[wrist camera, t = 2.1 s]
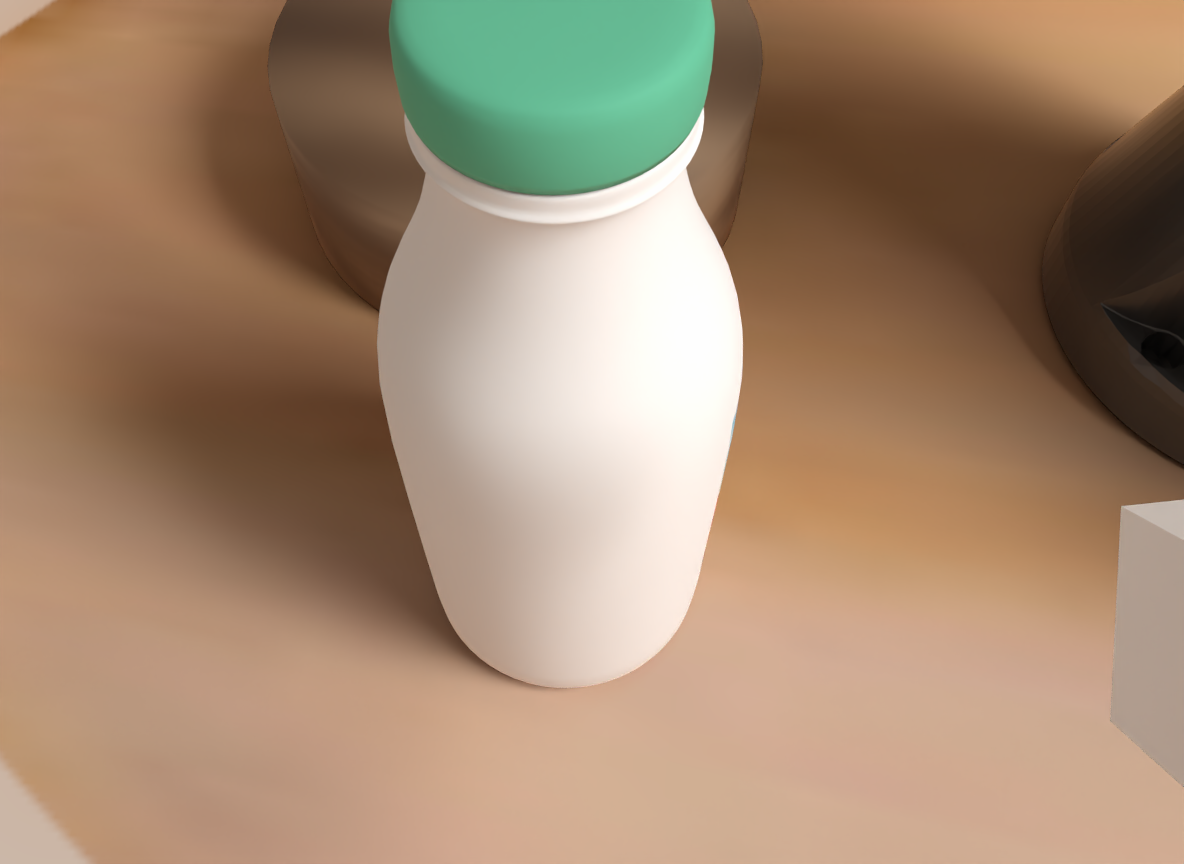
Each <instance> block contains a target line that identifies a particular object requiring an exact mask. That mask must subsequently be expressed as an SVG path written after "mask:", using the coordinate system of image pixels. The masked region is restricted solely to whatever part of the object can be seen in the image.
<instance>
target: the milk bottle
mask: <svg viewBox="0 0 1184 864" xmlns="http://www.w3.org/2000/svg"><path fill="white" fill-rule="evenodd" d="M714 35H715V20H714V14H713V9H712V3H711V0H392V4H391V11H390V18H389V39H390V47H391V55H392V63H393V70H394V74H395V78H396V82H397V87H398V91H399V95H400V99H401V103H402V107H403V109H404V112H405V115H404V122H405V131H406V135H407V139H408V142H409V145H410V148H411V150H412V152H413V154H414V156H415V158H416V160H417V161H418V163H419V164H420V166H421V167H422V169H423V170H424V171H425V173H426V174H425V179H424V184H423V189H422V193H421V197H420V200H419V203H418V205H417V208H416V210H415V213H414V215H413V217H412V219H411V221H410V223H409V225H408V227H407V229H406V231H405V233H404V235H403V237H402V239H401V242H400V244H399V246H398V249H397V251H396V253H395V256H394V258H393V261H392V263H391V265H390V269H389V272H388V275H387V279H386V283H385V287H384V291H383V295H382V300H381V306H380V312H379V323H378V336H377V350H378V366H379V380H380V387H381V393H382V398H383V402H384V407H385V411H386V416H387V420H388V425H389V429H390V434H391V438H392V443H393V446H394V450H395V453H396V457H397V460H398V464H399V467H400V471H401V474H402V478H403V481H404V485H405V488H406V492H407V495H408V498H409V502H410V505H411V509H412V512H413V515H414V518H415V522H416V525H417V528H418V532H419V535H420V538H421V541H422V545H423V548H424V551H425V554H426V558H427V561H428V564H429V567H430V570H431V573H432V577H433V580H434V583H435V586H436V589H437V592H438V596H439V598H440V601H441V603H442V605H443V608H444V610H445V613H446V615H447V617H448V619H449V621H450V623H451V625H452V626H453V628H454V630H455V631H456V633H457V634H458V635H459V637H460V638H461V640H462V641H463V642H464V643H465V644H466V645H467V646H468V648H469V649H470V650H471V651H472V652H473V653H475V654H476V655H477V656H478V657H479V658H480V659H481V660H483V661H484V662H486V663H487V664H488V665H490V666H491V667H493V668H495V669H496V670H498V671H500V672H501V673H503V674H506V675H508V676H510V677H512V678H514V679H517V680H520V681H523V682H526V683H530V684H534V685H538V686H544V687H552V688H579V687H586V686H593V685H597V684H601V683H605V682H608V681H611V680H614V679H616V678H619V677H621V676H623V675H625V674H628V673H630V672H632V671H633V670H635V669H637V668H638V667H640V666H642V665H643V664H644V663H646V662H647V661H648V660H650V659H651V658H652V657H654V656H655V655H656V654H657V653H658V652H659V651H660V650H661V649H662V648H663V647H664V646H665V645H666V644H667V643H668V641H669V640H670V639H671V638H672V636H673V635H674V634H675V632H676V631H677V629H678V628H679V626H680V624H681V623H682V621H683V619H684V617H685V615H686V613H687V610H688V608H689V606H690V603H691V600H692V597H693V594H694V591H695V588H696V584H697V581H698V577H699V573H700V569H701V565H702V562H703V558H704V554H705V550H706V546H707V542H708V537H709V533H710V529H711V525H712V521H713V517H714V513H715V509H716V505H717V501H718V496H719V492H720V488H721V483H722V479H723V474H724V470H725V466H726V461H727V457H728V453H729V448H730V444H731V439H732V434H733V429H734V424H735V418H736V412H737V406H738V400H739V394H740V387H741V381H742V368H743V335H742V323H741V317H740V310H739V304H738V297H737V293H736V290H735V286H734V283H733V279H732V276H731V273H730V269H729V266H728V263H727V261H726V259H725V256H724V254H723V251H722V249H721V247H720V245H719V243H718V241H717V239H716V237H715V235H714V233H713V231H712V229H711V228H710V226H709V224H708V222H707V220H706V219H705V217H704V215H703V213H702V211H701V209H700V207H699V206H698V204H697V201H696V199H695V197H694V194H693V191H692V188H691V185H690V182H689V178H688V174H687V170H686V167H687V165H688V164H689V163H690V161H691V159H692V157H693V156H694V154H695V152H696V150H697V147H698V145H699V143H700V140H701V136H702V132H703V125H704V104H705V100H706V96H707V91H708V86H709V80H710V75H711V70H712V61H713V49H714Z"/></svg>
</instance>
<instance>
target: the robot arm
mask: <svg viewBox="0 0 1184 864" xmlns="http://www.w3.org/2000/svg"><path fill="white" fill-rule="evenodd" d="M1042 281H1043V291H1044V297H1045V302H1046V307H1047V311H1048V314H1049V317H1050V321H1051V323H1052V326H1053V329H1054V331H1055V334H1056V336H1057V338H1058V340H1059V342H1060V344H1061V346H1062V348H1063V350H1064V352H1065V353H1066V355H1067V357H1068V359H1069V360H1070V362H1071V364H1072V365H1073V367H1074V368H1075V369H1076V371H1077V372H1078V374H1079V375H1080V377H1081V378H1082V379H1083V381H1084V382H1085V383H1086V384H1087V386H1088V387H1089V388H1090V389H1091V391H1092V392H1093V393H1094V394H1095V395H1096V396H1097V397H1098V398H1099V400H1100V401H1101V402H1102V403H1103V404H1104V405H1105V406H1106V407H1107V408H1108V409H1109V410H1110V411H1111V412H1112V413H1113V414H1114V415H1115V416H1117V417H1118V418H1119V419H1120V420H1121V421H1122V422H1123V423H1124V424H1125V425H1127V426H1128V427H1129V428H1130V429H1132V430H1133V431H1134V432H1135V433H1137V434H1138V435H1139V436H1140V437H1142V438H1143V439H1144V440H1146V441H1147V442H1149V443H1150V444H1151V445H1153V446H1154V447H1156V448H1157V449H1159V450H1160V451H1162V452H1163V453H1165V454H1167V455H1168V456H1170V457H1171V458H1173V459H1175V460H1176V461H1178V462H1180V463H1182V464H1184V86H1182V87H1181V88H1180V89H1179V90H1178V91H1176V92H1175V93H1174V94H1173V95H1171V96H1170V97H1169V98H1168V99H1166V100H1165V101H1164V102H1163V103H1162V104H1160V105H1159V106H1158V107H1157V108H1155V109H1154V110H1153V111H1152V112H1151V113H1149V114H1148V115H1147V116H1146V117H1145V118H1143V119H1142V120H1141V121H1140V122H1139V123H1137V124H1136V125H1135V126H1134V127H1133V128H1132V129H1130V130H1129V131H1128V132H1127V133H1126V134H1124V135H1123V136H1121V137H1120V138H1119V139H1117V140H1116V141H1115V142H1114V143H1112V144H1111V145H1110V146H1109V147H1107V148H1106V149H1105V150H1104V151H1103V152H1102V153H1101V154H1100V155H1099V156H1098V157H1097V158H1096V159H1095V160H1094V162H1093V163H1092V164H1091V165H1090V166H1089V167H1088V168H1087V170H1086V171H1085V172H1084V174H1083V175H1082V176H1081V178H1080V179H1079V181H1078V183H1077V184H1076V186H1075V188H1074V190H1073V191H1072V193H1071V195H1070V196H1069V198H1068V200H1067V202H1066V203H1065V205H1064V207H1063V209H1062V210H1061V212H1060V214H1059V216H1058V217H1057V219H1056V221H1055V223H1054V225H1053V227H1052V229H1051V231H1050V234H1049V237H1048V240H1047V243H1046V247H1045V252H1044V257H1043V267H1042ZM1110 721H1111V722H1112V723H1113V724H1114V725H1115V726H1116V727H1117V728H1119V729H1120V730H1121V731H1122V732H1123V733H1124V734H1125V735H1126V736H1127V737H1128V738H1130V739H1131V740H1132V741H1133V742H1134V743H1135V744H1136V745H1137V746H1138V747H1140V748H1141V749H1142V750H1143V751H1144V752H1145V753H1146V754H1147V755H1148V756H1150V757H1151V758H1152V759H1153V760H1154V761H1155V762H1156V763H1157V764H1158V765H1159V766H1161V767H1162V768H1163V769H1164V770H1165V771H1166V772H1167V773H1168V774H1169V775H1171V776H1172V777H1173V778H1174V779H1175V780H1176V781H1177V782H1178V783H1179V784H1181V785H1182V786H1183V787H1184V500H1175V501H1165V502H1156V503H1147V504H1137V505H1128V506H1121V520H1120V539H1119V559H1118V579H1117V599H1116V618H1115V638H1114V658H1113V677H1112V697H1111V717H1110Z"/></svg>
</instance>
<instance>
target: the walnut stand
mask: <svg viewBox="0 0 1184 864" xmlns="http://www.w3.org/2000/svg"><path fill="white" fill-rule="evenodd" d="M711 3H712V9H713V14H714V20H715V35H714V49H713V61H712V70H711V75H710V80H709V86H708V91H707V96H706V100H705V104H704V125H703V132H702V136H701V140H700V143H699V145H698V147H697V150H696V152H695V154H694V156H693V157H692V159H691V161H690V163H689V164H688V165H687V167H686V170H687V174H688V178H689V182H690V185H691V188H692V191H693V194H694V197H695V199H696V201H697V204H698V206H699V207H700V209H701V211H702V213H703V215H704V217H705V219H706V220H707V222H708V224H709V226H710V228H711V229H712V231H713V233H714V235H715V237H716V239H717V241H718V243H719V245H720V247H721V249H722V248H723V246H724V244H725V242H726V240H727V238H728V236H729V233H730V230H731V227H732V224H733V221H734V218H735V215H736V210H737V205H738V199H739V194H740V188H741V183H742V178H743V172H744V167H745V162H746V156H747V151H748V145H749V140H750V135H751V129H752V124H753V118H754V113H755V108H756V102H757V97H758V92H759V86H760V79H761V72H762V65H763V60H762V41H761V37H760V33H759V29H758V25H757V21H756V18H755V16H754V14H753V12H752V9H751V7H750V5H749V3H748V0H711ZM391 4H392V0H287V2H286V4H285V6H284V8H283V10H282V12H281V14H280V16H279V18H278V20H277V22H276V25H275V28H274V32H273V35H272V39H271V42H270V48H269V58H268V75H269V85H270V91H271V94H272V98H273V101H274V104H275V108H276V111H277V114H278V117H279V121H280V124H281V127H282V130H283V133H284V136H285V139H286V142H287V145H288V148H289V152H290V155H291V158H292V161H293V164H294V167H295V170H296V173H297V176H298V180H299V183H300V186H301V189H302V192H303V195H304V198H305V201H306V204H307V207H308V211H309V214H310V217H311V220H312V223H313V226H314V229H315V232H316V235H317V239H318V241H319V243H320V245H321V247H322V249H323V251H324V253H325V255H326V257H327V259H328V260H329V262H330V263H331V264H332V266H333V267H334V269H335V270H336V271H337V273H338V274H339V275H340V277H341V278H342V279H343V280H344V281H345V282H346V283H347V284H348V285H349V286H350V287H351V288H352V289H353V290H354V291H355V292H356V293H357V294H358V295H359V296H360V297H361V298H362V299H364V300H365V301H366V302H368V303H369V304H370V305H372V306H373V307H374V308H376V309H377V310H378V311H380V306H381V300H382V295H383V291H384V287H385V283H386V279H387V275H388V272H389V269H390V265H391V263H392V261H393V258H394V256H395V253H396V251H397V249H398V246H399V244H400V242H401V239H402V237H403V235H404V233H405V231H406V229H407V227H408V225H409V223H410V221H411V219H412V217H413V215H414V213H415V210H416V208H417V205H418V203H419V200H420V197H421V193H422V189H423V184H424V179H425V174H426V173H425V171H424V170H423V169H422V167H421V166H420V164H419V163H418V161H417V160H416V158H415V156H414V154H413V152H412V150H411V148H410V145H409V142H408V139H407V135H406V131H405V122H404V115H405V112H404V109H403V107H402V103H401V99H400V95H399V91H398V87H397V82H396V78H395V74H394V70H393V63H392V55H391V47H390V39H389V18H390V11H391Z"/></svg>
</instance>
